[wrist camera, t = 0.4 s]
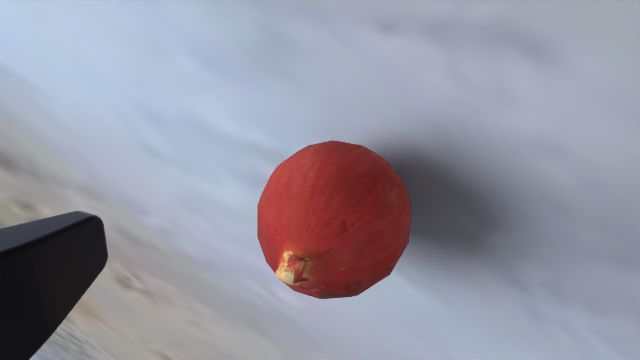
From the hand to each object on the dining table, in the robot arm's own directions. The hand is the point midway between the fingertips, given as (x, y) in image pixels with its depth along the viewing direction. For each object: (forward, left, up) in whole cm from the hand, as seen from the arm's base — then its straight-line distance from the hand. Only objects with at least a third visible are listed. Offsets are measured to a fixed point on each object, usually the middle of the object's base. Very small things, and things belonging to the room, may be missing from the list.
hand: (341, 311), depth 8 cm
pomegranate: (-5, +3, -14) cm, 16 cm away
